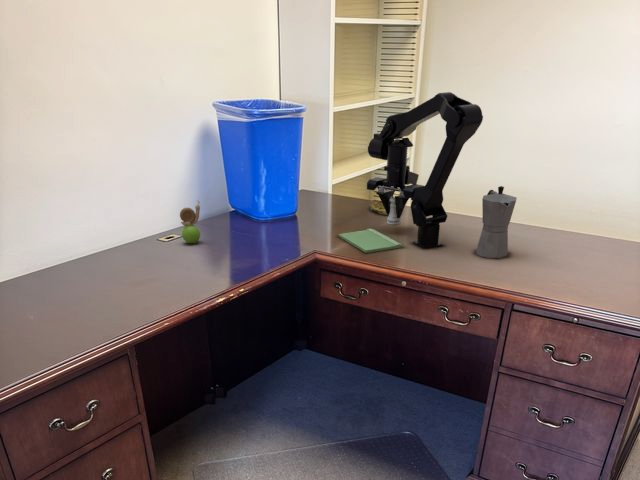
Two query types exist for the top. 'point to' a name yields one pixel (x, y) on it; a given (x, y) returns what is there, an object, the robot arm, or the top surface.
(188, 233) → the snail figurine
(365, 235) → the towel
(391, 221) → the rook chess piece
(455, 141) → the robot arm
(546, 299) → the top surface
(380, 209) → the olive lumpy piece
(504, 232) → the coffeepot
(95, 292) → the top surface
